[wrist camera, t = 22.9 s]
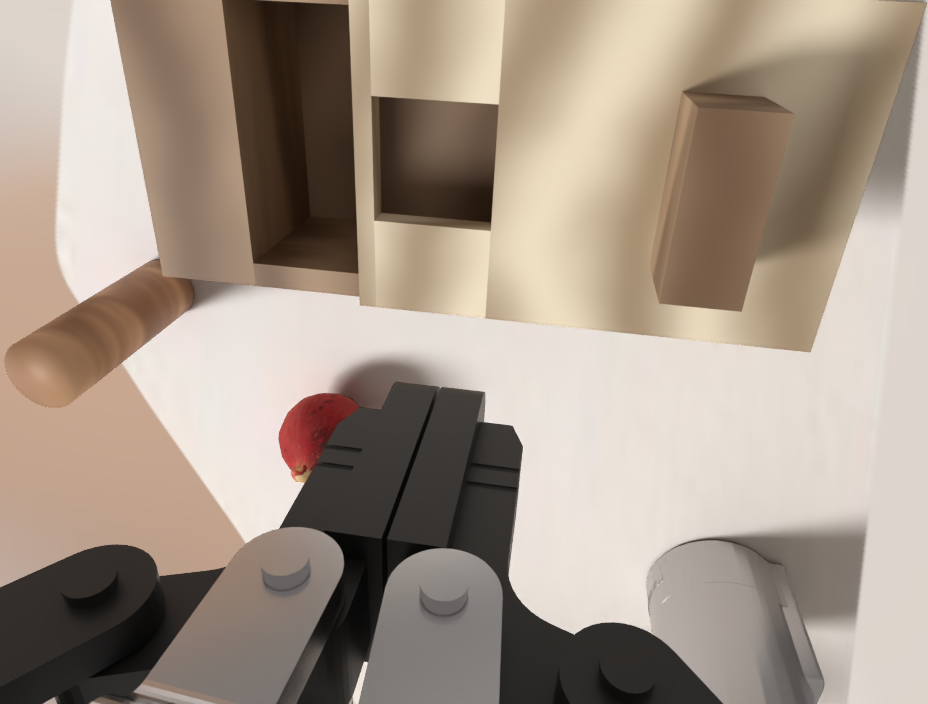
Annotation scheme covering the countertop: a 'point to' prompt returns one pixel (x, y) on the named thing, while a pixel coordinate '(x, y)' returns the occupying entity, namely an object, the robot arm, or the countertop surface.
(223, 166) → the wooden box
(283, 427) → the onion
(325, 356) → the countertop surface
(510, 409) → the countertop surface
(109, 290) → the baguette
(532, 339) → the countertop surface
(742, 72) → the lid
